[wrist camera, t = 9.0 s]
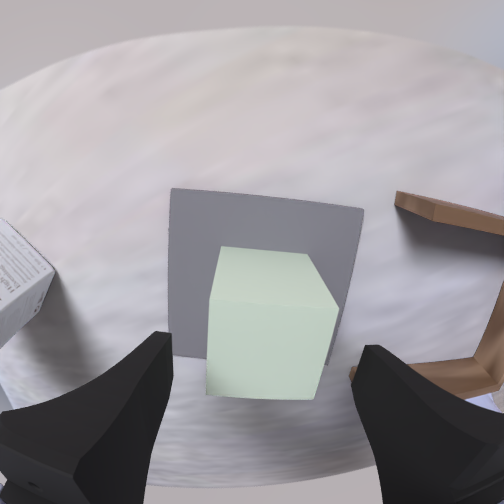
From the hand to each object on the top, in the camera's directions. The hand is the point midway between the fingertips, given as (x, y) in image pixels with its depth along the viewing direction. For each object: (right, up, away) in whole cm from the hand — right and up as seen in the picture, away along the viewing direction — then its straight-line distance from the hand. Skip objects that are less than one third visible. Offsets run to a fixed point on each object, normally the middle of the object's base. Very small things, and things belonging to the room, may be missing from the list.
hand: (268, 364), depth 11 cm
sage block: (0, +2, +6) cm, 6 cm away
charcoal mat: (0, +2, +6) cm, 7 cm away
